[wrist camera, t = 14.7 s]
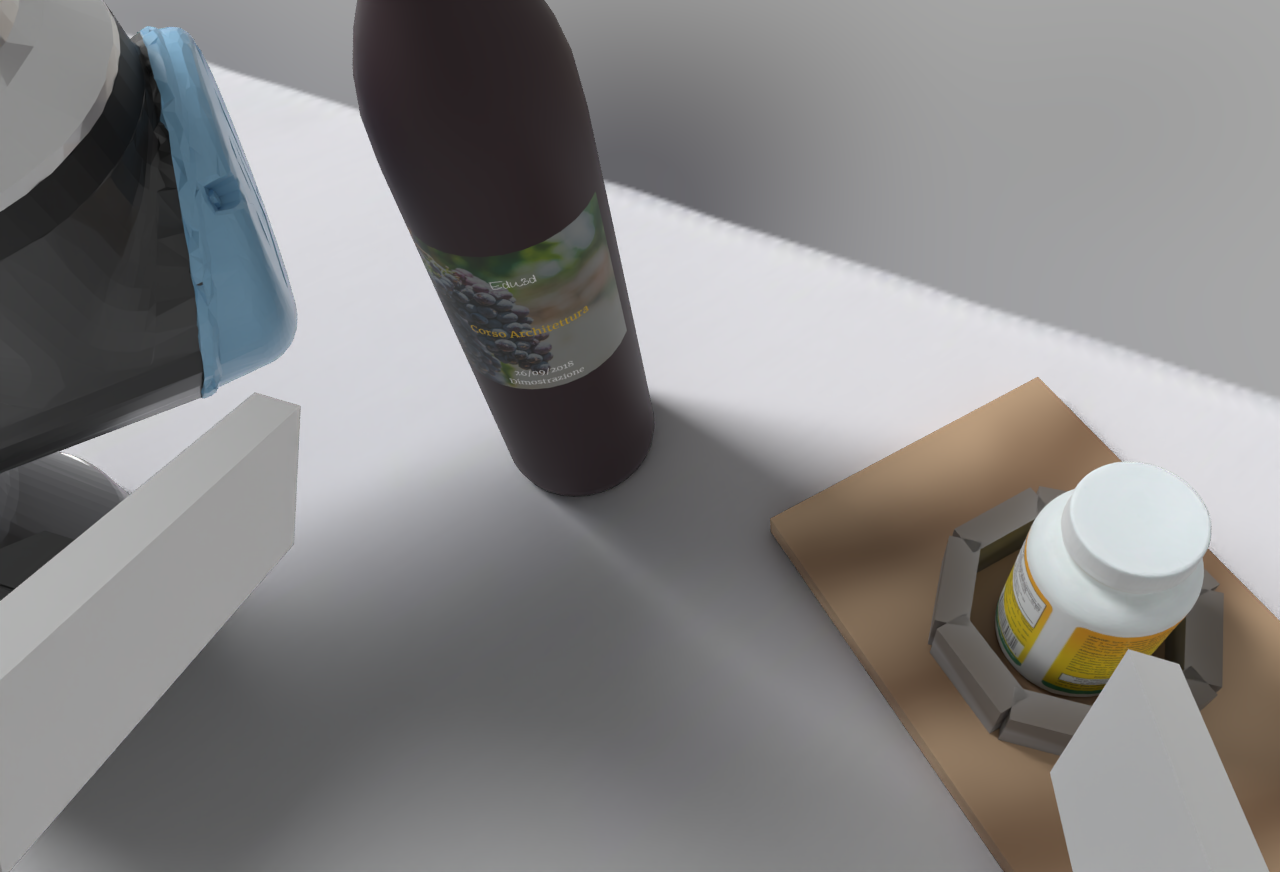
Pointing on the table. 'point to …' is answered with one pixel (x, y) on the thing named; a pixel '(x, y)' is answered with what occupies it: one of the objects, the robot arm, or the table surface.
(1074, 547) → the supplement bottle
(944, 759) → the board
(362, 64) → the wine bottle
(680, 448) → the table surface
